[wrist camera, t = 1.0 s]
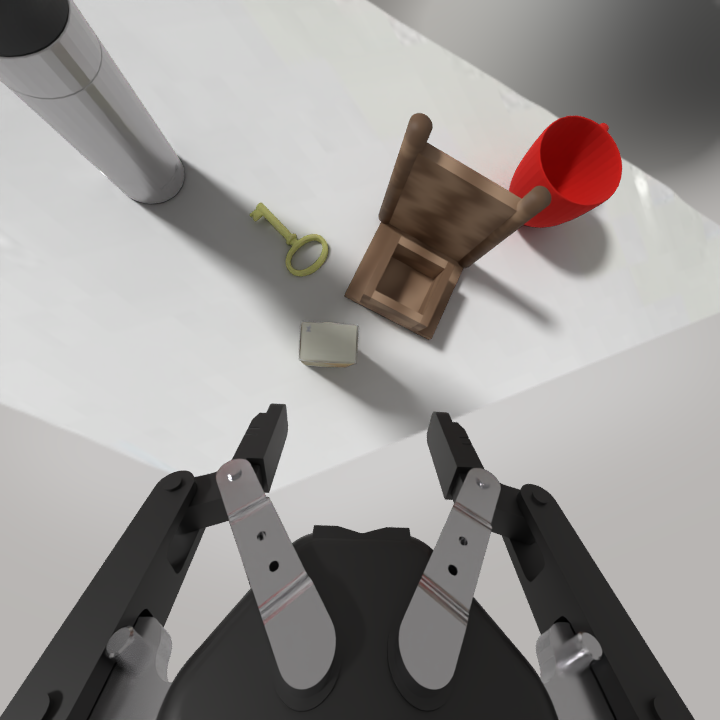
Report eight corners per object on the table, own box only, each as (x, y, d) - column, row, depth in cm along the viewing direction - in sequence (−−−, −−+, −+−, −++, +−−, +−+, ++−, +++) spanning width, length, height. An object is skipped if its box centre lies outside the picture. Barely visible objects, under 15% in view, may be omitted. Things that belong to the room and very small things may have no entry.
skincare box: (304, 365, 39) (294, 361, 26) (306, 337, 39) (297, 319, 27) (347, 368, 39) (357, 364, 27) (349, 340, 40) (359, 323, 28)
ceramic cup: (583, 192, 47) (651, 143, 37) (531, 258, 45) (590, 225, 35) (531, 142, 46) (588, 78, 36) (476, 207, 44) (520, 158, 34)
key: (260, 207, 40) (256, 198, 37) (333, 246, 41) (333, 239, 39) (237, 247, 39) (232, 240, 37) (312, 285, 40) (312, 280, 38)
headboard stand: (339, 293, 40) (347, 239, 24) (381, 210, 42) (415, 108, 26) (433, 342, 41) (500, 321, 26) (470, 260, 43) (554, 193, 27)
